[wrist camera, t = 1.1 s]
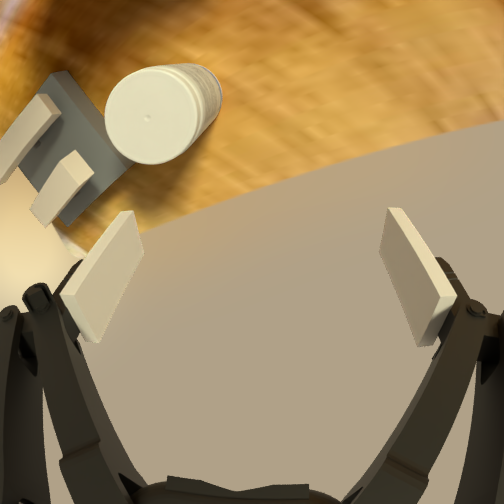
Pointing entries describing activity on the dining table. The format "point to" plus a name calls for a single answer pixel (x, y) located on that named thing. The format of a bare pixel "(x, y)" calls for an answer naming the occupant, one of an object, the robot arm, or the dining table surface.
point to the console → (74, 145)
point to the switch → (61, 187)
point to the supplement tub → (161, 111)
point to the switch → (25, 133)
